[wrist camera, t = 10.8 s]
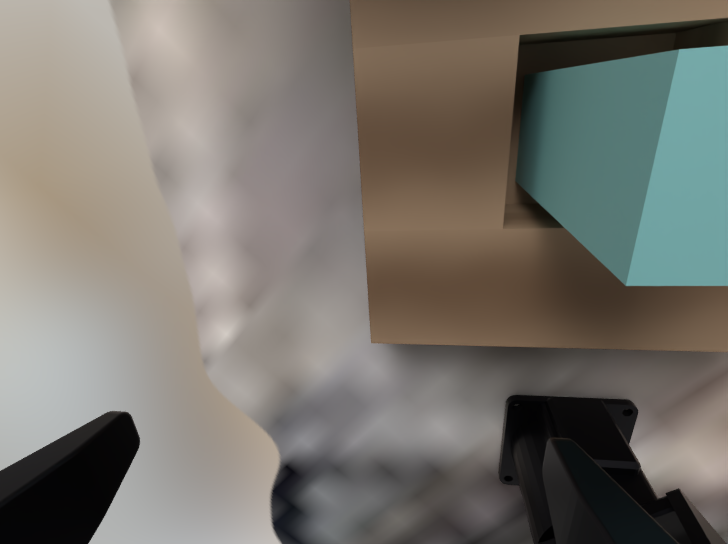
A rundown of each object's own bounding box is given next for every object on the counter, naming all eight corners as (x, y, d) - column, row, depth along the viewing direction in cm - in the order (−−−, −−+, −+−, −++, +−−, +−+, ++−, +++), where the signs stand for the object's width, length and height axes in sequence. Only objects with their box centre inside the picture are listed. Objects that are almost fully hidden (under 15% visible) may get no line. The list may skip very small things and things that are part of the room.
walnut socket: (726, 302, 18) (802, 353, 15) (380, 298, 21) (371, 343, 17) (895, -176, 12) (1107, -295, 8) (360, -102, 14) (339, -169, 10)
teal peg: (618, 177, 16) (869, 286, 7) (515, 180, 17) (626, 286, 8) (639, 66, 14) (1002, 23, 5) (524, 74, 15) (678, 49, 6)
